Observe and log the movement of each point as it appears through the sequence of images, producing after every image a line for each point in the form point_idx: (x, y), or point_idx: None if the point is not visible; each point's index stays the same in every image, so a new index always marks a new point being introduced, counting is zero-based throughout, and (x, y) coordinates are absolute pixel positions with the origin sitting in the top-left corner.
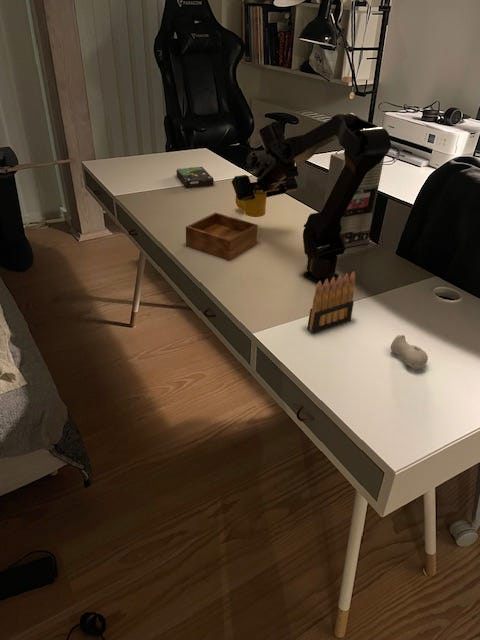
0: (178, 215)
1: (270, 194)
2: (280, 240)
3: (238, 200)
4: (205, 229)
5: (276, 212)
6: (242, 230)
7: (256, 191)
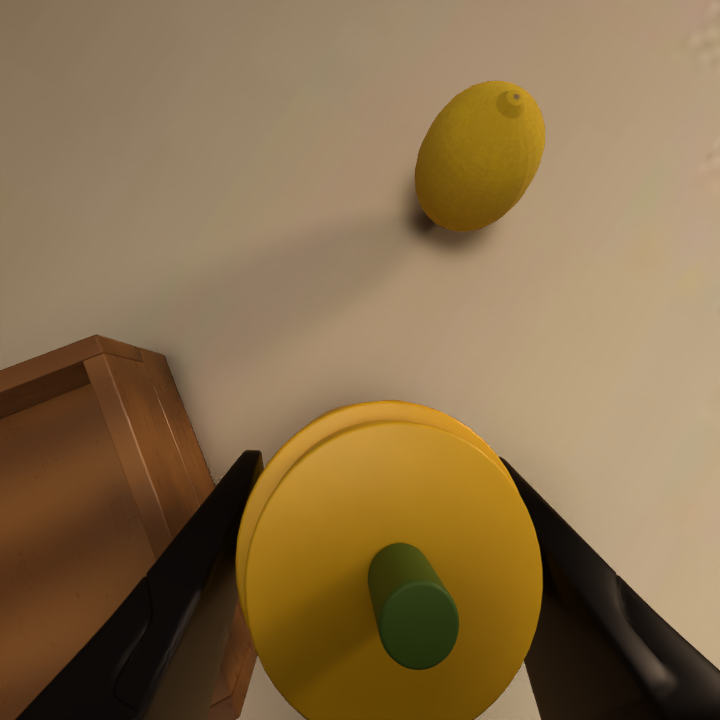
0: (101, 95)
1: (533, 656)
2: None
3: (422, 175)
4: (7, 423)
5: (592, 307)
6: None
7: (317, 711)
